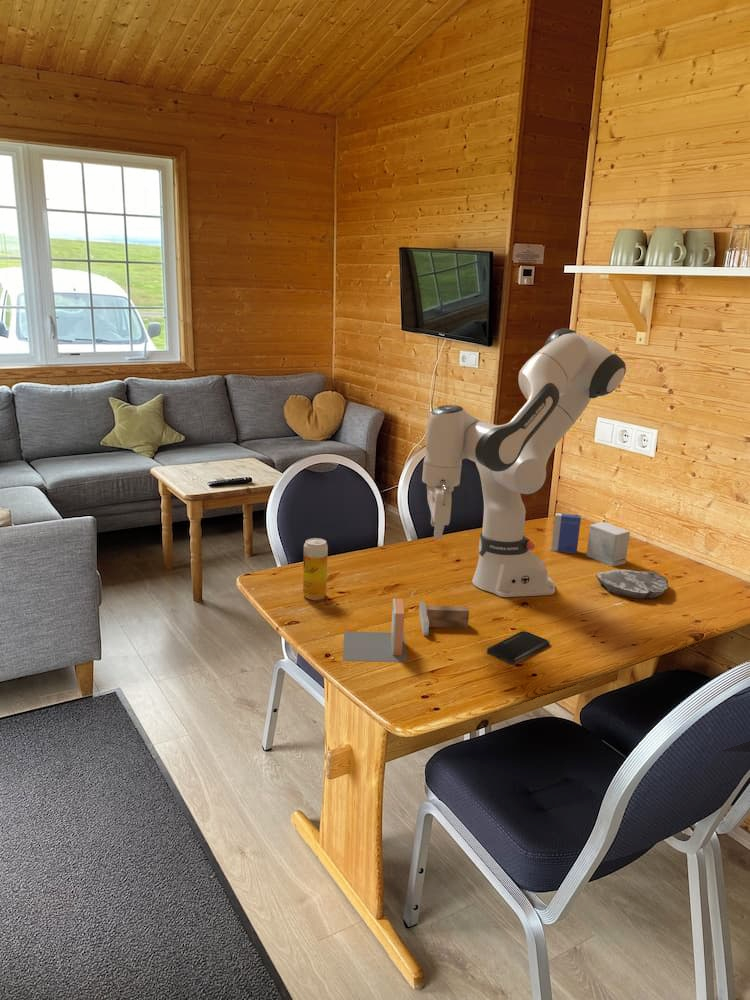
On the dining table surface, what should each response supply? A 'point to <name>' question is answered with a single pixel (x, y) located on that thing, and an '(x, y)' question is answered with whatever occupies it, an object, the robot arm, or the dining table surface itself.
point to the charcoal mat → (371, 647)
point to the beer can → (315, 568)
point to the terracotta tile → (397, 626)
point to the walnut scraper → (442, 617)
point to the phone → (518, 647)
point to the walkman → (566, 533)
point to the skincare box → (608, 544)
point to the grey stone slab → (633, 583)
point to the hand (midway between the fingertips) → (436, 531)
